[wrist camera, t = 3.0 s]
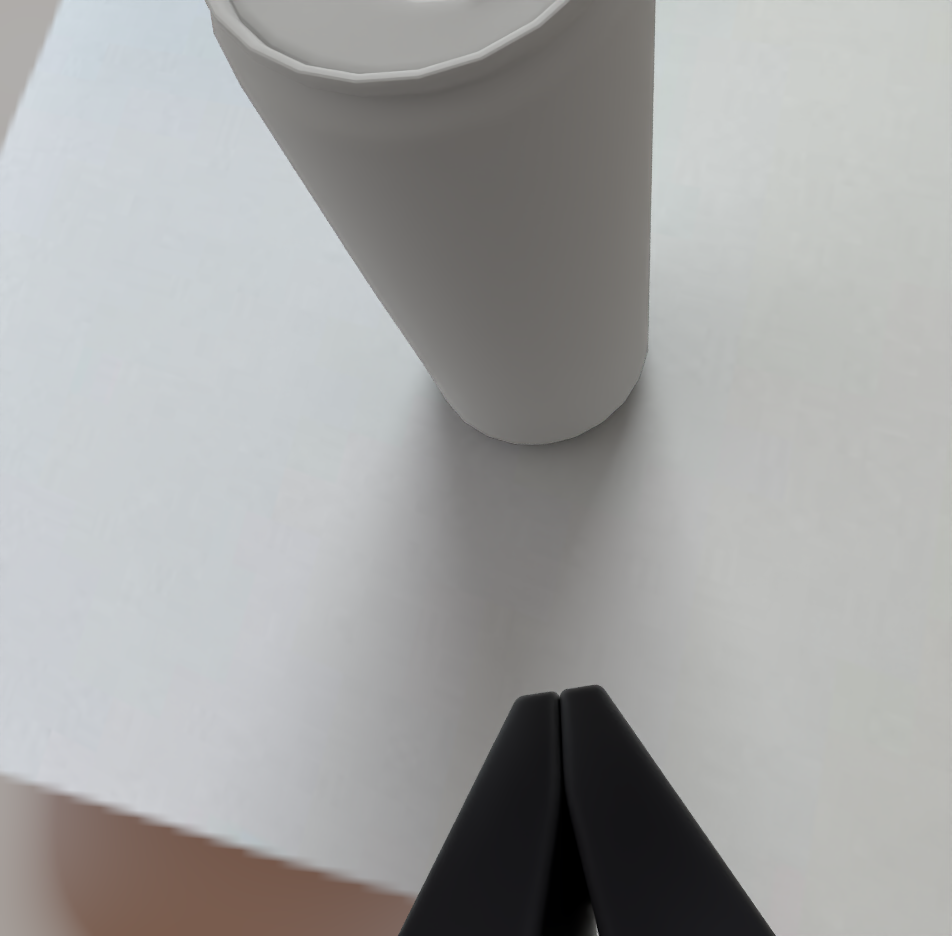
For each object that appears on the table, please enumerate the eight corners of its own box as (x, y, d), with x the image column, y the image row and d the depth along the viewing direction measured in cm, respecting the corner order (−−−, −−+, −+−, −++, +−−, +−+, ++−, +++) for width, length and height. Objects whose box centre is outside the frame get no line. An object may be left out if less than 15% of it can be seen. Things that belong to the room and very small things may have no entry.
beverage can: (553, 497, 19) (426, 191, 8) (390, 368, 21) (80, -51, 9) (694, 327, 20) (769, -201, 8) (525, 213, 21) (388, -373, 10)
